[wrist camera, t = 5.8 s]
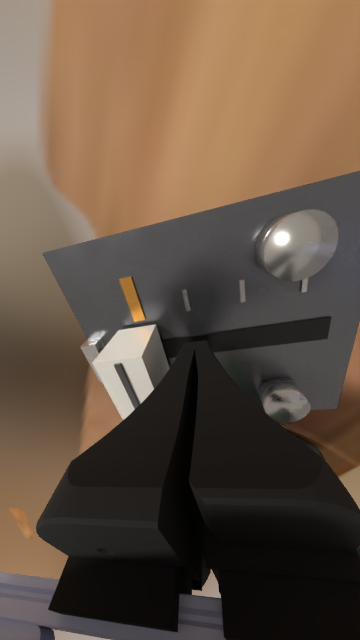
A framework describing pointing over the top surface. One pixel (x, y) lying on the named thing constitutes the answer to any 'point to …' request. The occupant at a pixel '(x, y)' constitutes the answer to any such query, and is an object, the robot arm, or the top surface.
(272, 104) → the top surface
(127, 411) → the fader cap
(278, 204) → the console
